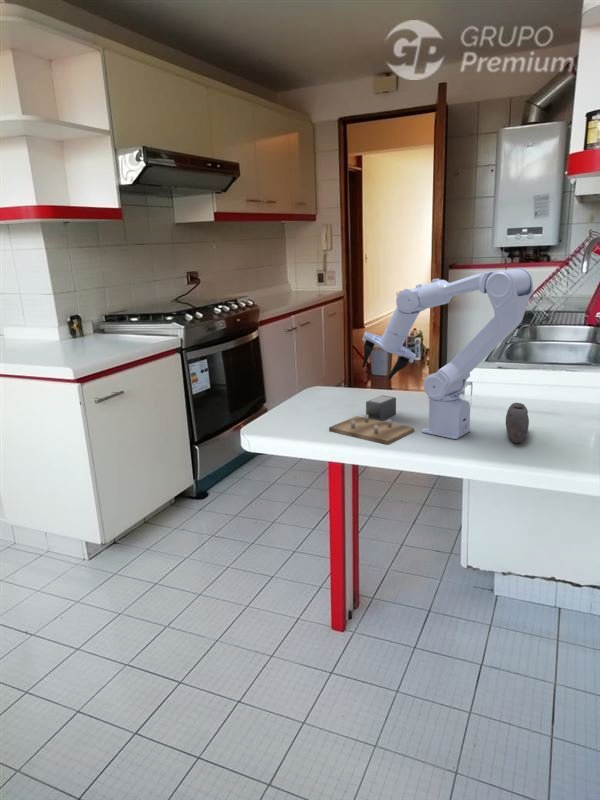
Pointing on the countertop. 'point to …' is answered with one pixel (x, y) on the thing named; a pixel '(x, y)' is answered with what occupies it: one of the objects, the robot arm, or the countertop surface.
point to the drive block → (381, 408)
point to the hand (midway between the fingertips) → (376, 371)
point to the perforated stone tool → (517, 422)
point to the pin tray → (372, 429)
